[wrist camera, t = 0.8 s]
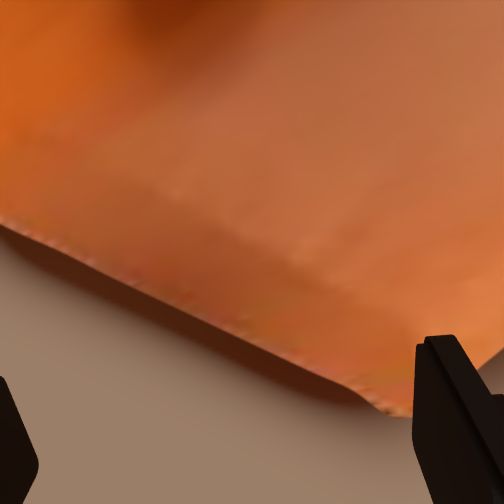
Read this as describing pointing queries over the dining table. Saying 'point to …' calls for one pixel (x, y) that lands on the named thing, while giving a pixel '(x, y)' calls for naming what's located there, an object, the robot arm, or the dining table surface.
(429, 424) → the robot arm
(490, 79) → the dining table surface
